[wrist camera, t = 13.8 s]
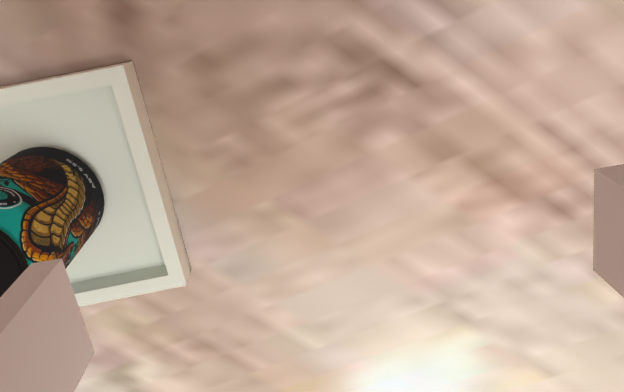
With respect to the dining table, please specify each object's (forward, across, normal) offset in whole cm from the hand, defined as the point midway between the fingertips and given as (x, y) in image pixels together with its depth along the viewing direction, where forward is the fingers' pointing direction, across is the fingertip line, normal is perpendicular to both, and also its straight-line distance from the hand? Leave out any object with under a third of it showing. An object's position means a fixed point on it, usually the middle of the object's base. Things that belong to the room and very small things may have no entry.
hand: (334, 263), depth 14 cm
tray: (+25, -18, -4) cm, 31 cm away
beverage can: (+24, -18, -4) cm, 30 cm away
